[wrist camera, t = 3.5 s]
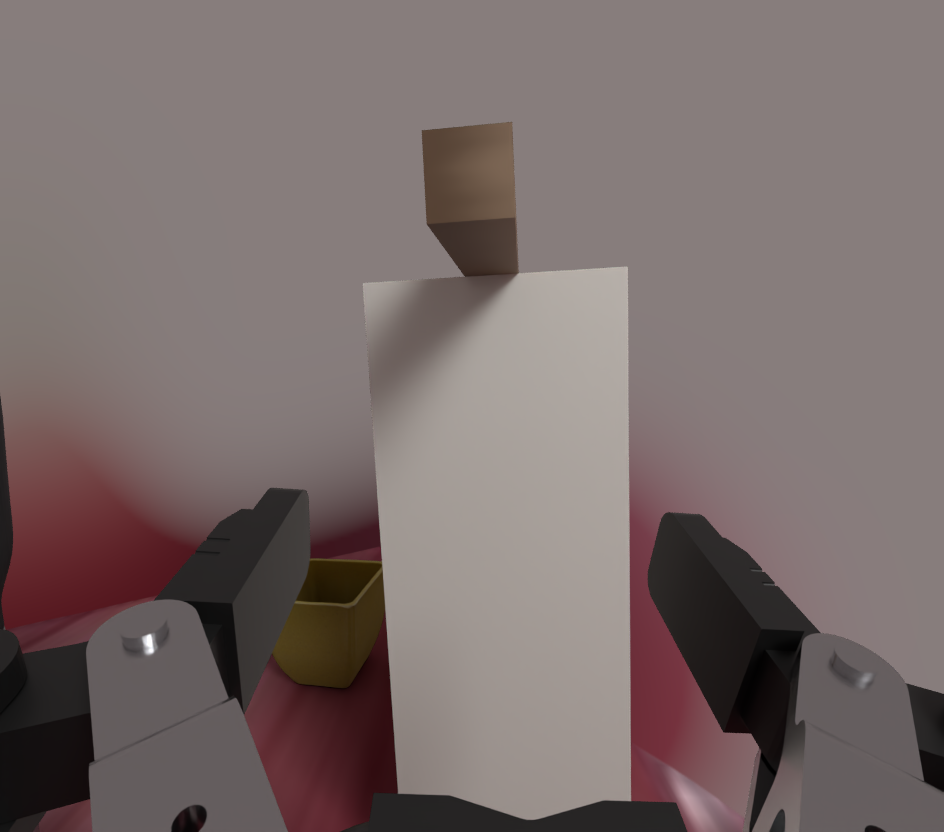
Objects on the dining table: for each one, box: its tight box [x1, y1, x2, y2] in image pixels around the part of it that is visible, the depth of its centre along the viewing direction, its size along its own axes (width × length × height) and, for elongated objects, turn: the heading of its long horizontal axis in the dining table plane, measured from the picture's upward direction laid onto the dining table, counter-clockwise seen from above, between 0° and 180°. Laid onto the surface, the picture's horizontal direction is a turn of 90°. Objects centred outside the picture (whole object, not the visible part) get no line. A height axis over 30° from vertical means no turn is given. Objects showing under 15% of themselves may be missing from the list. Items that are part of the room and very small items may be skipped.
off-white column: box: [363, 267, 631, 820], centre depth 30 cm, size 12×12×32 cm
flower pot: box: [272, 559, 385, 688], centre depth 45 cm, size 9×9×9 cm
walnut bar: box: [422, 122, 519, 277], centre depth 24 cm, size 2×22×2 cm, turn 174°
